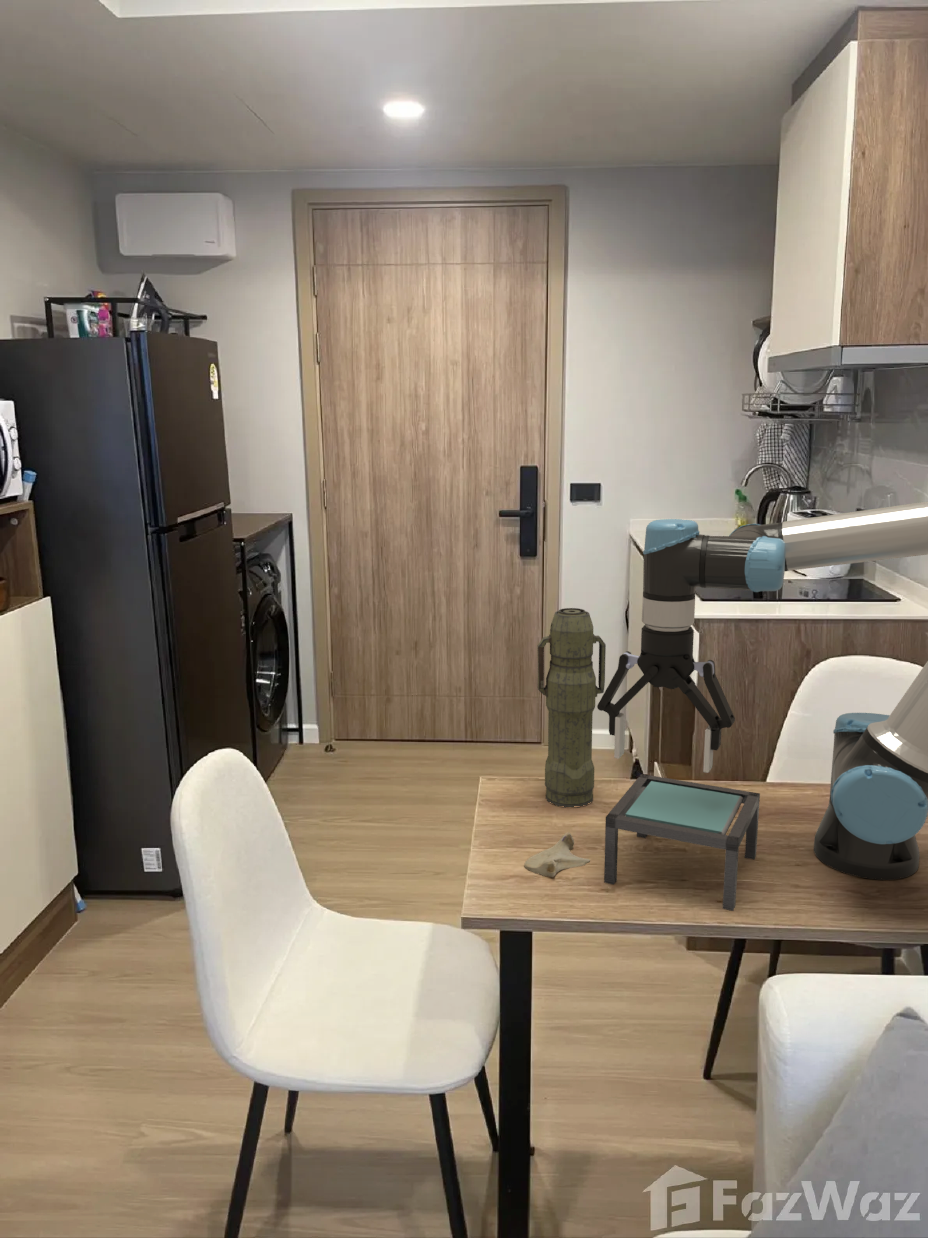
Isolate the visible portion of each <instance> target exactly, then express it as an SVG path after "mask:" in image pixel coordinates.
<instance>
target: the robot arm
mask: <svg viewBox="0 0 928 1238" xmlns="http://www.w3.org/2000/svg"><path fill="white" fill-rule="evenodd" d="M642 555H643V567H642V568H643V571H642V572H643V573H642V575H643V577H642V579H643V580H642V582H643V583H642V606H641V607H642V608H641V622H642V623H643V624H644V625H643V626H642V627H641V631H640V632H641V634H640V635H641V636H640V637H641V638H640V654H639V655H636V654H632V652H631V651H625V652H623V653H622V654H621V655H620V656H619V657H618V666H617V669H616V671H615V673H614V674H613V676H612V678H611V680H610V682H609V683H608V686H607V688H606V689H605V690H604V693H602V694H603V695H602V696H601V698H600V699H599V702H598V703H597V706H596V707H597V710H598V711H601V712H602V711H603V712H605V713H607V715H608V717H609V718H608V733H609V736H614V748H613V749H614V753H613V754H614V759H620V758H621V757H622V756H623V755H624V754H625V742H626V740H625V736H626V735H625V733H626V713H625V712H621V710H622V709H623V708H624V707H625V706H626V705H627V704H629V702H630V701H631V700H632V699H633V698H634V697H635V696H637V695H638V693H639V692H640V691H641V690H643V689H644V687H645V686H646V685H647V684H648V683H649V684H650V685H651V686H653V688H666V689H668V690H675V689H679V690H680V692H682V694H684V695H686V697H687V698H688V700H689V701H690V702H691V704H692V705H693V706H694V707H695V709H696V710H697V712H698V713H699V714H700V716H701V717H702V718H703V720H704V721H705V722H706V724H707V725H708V726H707V727H706V728H705V730H704V750H703V769H702V770H703V773H709V774H710V772H711V770H712V768H713V765H714V764H713V762H714V761H713V760H714V759H713V758H714V751H718V750H719V748H720V747H721V744H722V729H724V728H728V729H729V728H731V727H732V725H734V722H735V721H736V717H735V715H734V713H733V711H732V709H731V707H730V704H729V702H728V700H727V697H726V695H725V693H724V690H723V689H722V687H721V684H720V681H719V680H718V677H717V675H716V664H715V661H714V660H712V659H709V660H707V661H695V659H694V640H695V639H694V635H695V634H694V633H695V630H694V629H693V627H692V625H693V624H695V612H696V611H695V609H696V589H697V588H701V589H724V590H736V591H749V592H750V591H751V592H753V593H759V592H777V591H780V590H781V588H782V587H783V585H784V580H785V579H784V578H785V572H790V571H796V570H807V569H815V568H823V567H824V568H825V567H831V566H832V567H833V566H839V565H848V564H857V563H866V562H876V561H884V560H892V559H893V560H894V559H901V558H909V557H918V556H928V501H922V502H914V503H907V504H901V505H899V504H898V505H893V506H887V507H878V508H873V509H865V510H857V511H851V512H844V513H836V514H835V513H834V514H829V515H828V514H827V515H821V516H814V517H813V516H812V517H807V518H798V519H794V520H787V521H781V522H772V523H765V524H759V523H749V524H745V525H741V526H739V527H738V528H735V529H734V530H733V531H732V532H731V533H730V534H729V535H708V534H707V535H706V534H700V530H699V524H698V523H697V521H695V520H691V519H680V518H678V519H677V518H668V519H667V518H666V519H665V518H664V519H661V518H660V519H656V520H652V521H650V522H649V523H648V524H647V525H646V528H645V537H644V549H643V551H642ZM636 664H637V666H638V668H639V669H640V671H641V672H642V676H641V677H639V679H638V680H637V681H636V682H635V683H634V684H633V685H632V686H631V687H630V688H629V689H628V690H627V692H625V693H624V694H623V695H622V696H621V698H620V699H619V700H618V701H616V703H613V702H612V701H613V699H614V696H615V695H616V693H617V691H618V690H619V688H620V686H621V685H622V683H623V680H624V679H625V677H626V675H627V674H628V672H629V670H630V669H633V667H635V665H636ZM694 671H696V672H698V675H699V677H701V678H703V680H704V684H705V686H706V689H707V690H708V693H709V695H710V698H711V700H712V703H713V704H714V706H715V708H716V710H715V709H714V707H713V706H712V705H711V704H710V702H709V700H707V698H706V697H705V695H704V694H703V693H702V692H701V690H700V689H699V688H698V686H697V685H696V683H695V680H694V679H693V677H692V676H691V675H692V673H693V672H694ZM716 711H717V712H716ZM832 733H833V734H834V737H833V750H832V760H831V763H832V764H831V775H830V784H829V785H830V786H829V787H830V788H829V799H828V800H829V801H828V806H827V808H826V810H825V812H824V814H823V817H822V819H821V821H820V824H819V825H818V827H817V830H816V832H815V835H814V840H813V853H814V855H815V856H816V858H817V859H818V860H819V861H820V862H822V863H823V864H825V865H826V866H828V867H830V868H832V869H834V870H836V871H838V872H841V873H844V874H848V875H850V876H853V877H859V878H863V879H870V880H878V881H879V880H880V881H886V880H887V881H888V880H889V881H890V880H900V879H906V878H907V877H910V876H912V875H914V874H915V873H916V872H917V871H918V869H919V863H920V849H919V846H918V840H917V837H916V835H917V833H919V832H920V831H921V829H922V828H923V827H924V825H925V823H926V820H927V818H928V660H927V661H926V662H925V664H924V666H923V667H922V668H921V669H920V671H919V673H918V675H917V676H916V677H915V679H914V680H913V682H912V683H911V685H910V686H908V689H907V690H906V692H905V693H904V694H903V695H902V697H901V699H900V700H899V701H898V702H897V704H896V706H895V707H894V709H893V710H892V712H891V713H890V714H884V713H883V714H882V713H872V712H871V713H870V712H848V713H843V714H841V715H839V716H838V717H837V718H836V720H835V726H834V729H833V731H832Z"/></svg>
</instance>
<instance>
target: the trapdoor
mask: <svg viewBox="0 0 928 1238" xmlns="http://www.w3.org/2000/svg"><path fill="white" fill-rule="evenodd" d="M742 801H743V797H742V796H737V795H731V794H725V793H719V792H713V791H707V790H701V789H695V788H689V787H683V786H677V785H671V784H665V783H659V782H653V781H651V782H650V783H649V784H648V786H647V787H646V788H645V790H644V791H643V792H642V793H641V795H640V796H639V797H638V799H637V800H636V801H635V802H634V804H633V805H632V806H631V808H630V809H629V810H628V811H627V813H626V814H625V816H626V817H632V818H637V819H642V820H648V821H653V822H659V823H664V824H669V825H675V826H680V827H685V828H691V829H696V830H702V831H707V832H712V833H718V834H723V835H727V833H728V832H729V829H730V827H731V825H732V824H733V821H734V819H735V818H736V815H737V813H738V812H739V810H740V807H741V805H742V804H743V803H742Z"/></svg>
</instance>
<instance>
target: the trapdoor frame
mask: <svg viewBox="0 0 928 1238" xmlns="http://www.w3.org/2000/svg"><path fill="white" fill-rule="evenodd" d="M651 781H653V782H659V783H665V784H671V785H677V786H683V787H689V788H695V789H701V790H707V791H713V792H719V793H725V794H731V795H737V796H742V797H743V801H742V803H741V804H743V805H742V807H741V810H740V812H739V813H738V816H737V818H736V820H735V822H734V824H733V826H732V828H731V829H730V831H729V833H728V835H727V834H726V835H723V834H718V833H712V832H707V831H702V830H696V829H691V828H685V827H680V826H675V825H669V824H664V823H659V822H653V821H648V820H642V819H637V818H632V817H626V816H625V814H626V813H627V811H628V810H629V809H630V808H631V806H632V805H633V804H634V802H635V801H636V800H637V799H638V797H639V796H640V795H641V793H642V792H643V791H644V790H645V788H646V787H647V786H648V784H649V783H650V782H651ZM760 798H761V793H759V792H753V791H748V790H741V789H736V788H729V787H721V786H716V785H712V784H705V783H700V782H699V783H698V782H692V781H686V780H681V779H676V778H675V779H674V778H670V777H669V778H667V777H662V776H658V775H657V776H654V775H648V774H644V773H640V775H639V776H638V777H637V779H636V780H635V781H634V782H633V783H632V784H631V785H630V787H629V788H628V790H626V791H625V793H624V794H623V795H622V796H621V798H620V799H619V800H618V801H617V803H616V804H615V806H613V807H612V808H611V810H610V811H609V813H608V814H607V815H606V816H605V831H604V832H605V834H604V869H603V870H604V873H603V875H604V876H603V877H604V878H603V883H605V884H609V885H613V886H614V885H615V883H616V882H617V881H618V852H619V851H618V850H619V847H618V846H619V845H618V844H619V830H620V831H621V830H622V831H627V832H631V833H636V837H637V838H642V839H646V838H647V837H648V836H652V837H658V838H664V839H669V840H672V841H679V842H684V843H688V844H693V845H699V846H704V847H711V848H714V849H720V850H725V857H724V875H723V895H722V909H723V910H728V911H731V912H734V910H735V908H736V902H737V887H738V886H737V885H738V869H739V868H738V866H739V852H740V851H739V848H740V846H741V844H742V842H743V839H744V838H745V846H744V848H745V849H744V858H745V859H750V860H754V861H755V860H756V858H757V850H758V849H757V848H758V847H757V846H758V845H757V844H758V833H759V831H758V830H759V815H760V814H759V813H760V803H761V802H760Z"/></svg>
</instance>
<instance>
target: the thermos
mask: <svg viewBox="0 0 928 1238" xmlns="http://www.w3.org/2000/svg"><path fill="white" fill-rule="evenodd" d="M548 643H549V654H550V661H549V669H548V671H547V674H546V678H545V676H544V675H545V646H546V644H548ZM597 643H598V686H597V682H596V681H597V677H596V674H595V671H594V666H593V664H594V662H593V658H592V657H593V656H594V655H593V654H594V644H597ZM606 650H607V649H606V643H605V642H604V640H603V639H602V638H601V636H600V635H595V634H594V625H593V621H592V618H591V614H590V612H588V611H586V610H585V609H583V608H577V607H576V608H575V607H566V608H565V607H564V608H560V609H559V610H557V611H555V612H554V615H553V617H552V620H551V624H550V629H549V635H548V636H543V637H542V639H540V641H539V643H538V644H537V690H538V691H539V692H540V693H541V694H542V695H543V696H545V706H546V708H547V711H548V715H547V716H548V722H547V724H548V734H547V735H548V736H547V737H548V738H547V744H548V745H547V758H546V760H545V766H544V786H545V800H546V799H547V800H546V801H547V802H548V803H549V802H551V803H553V804H555V805H554V806H556V805H557V806H556V807H559V806H564V807H563V808H566V807H574V806H583V805H586V806H588V805H589V804H588V803H590V802H591V803H593V801H594V792H593V791H594V787H595V766H594V762H593V757H592V754H593V753H592V752H593V750H592V749H593V712H594V710H595V709H596V698H598V694H599V695H600V694H604V693H605V683H606V654H607V653H606ZM551 803H550V804H551ZM591 803H590V804H591ZM553 804H552V805H553ZM587 804H588V805H587ZM583 807H584V806H583Z"/></svg>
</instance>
